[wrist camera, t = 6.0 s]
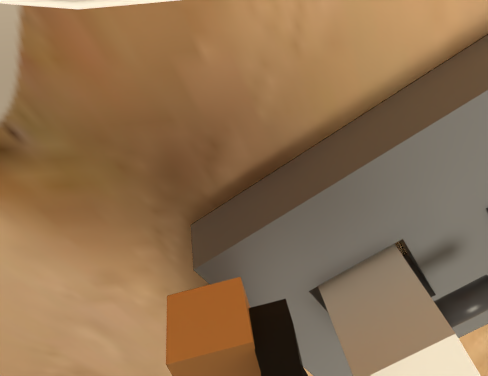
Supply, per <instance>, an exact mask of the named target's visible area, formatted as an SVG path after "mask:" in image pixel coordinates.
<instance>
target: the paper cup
mask: <svg viewBox="0 0 488 376" xmlns="http://www.w3.org/2000/svg"><path fill="white" fill-rule="evenodd" d="M167 1H178V0H0V4H13V5H26V6H40V7H53V8H67V9H89V8H100V7H111V6H122V5H133V4H144V3H156V2H167Z"/></svg>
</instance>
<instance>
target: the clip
mask: <svg viewBox="0 0 488 376" xmlns="http://www.w3.org/2000/svg"><path fill="white" fill-rule="evenodd" d="M249 308H250V305H249V302H248V299H247V296H246V293H245V289H244V286H243V283H242V280H241V277H237V278H233V279H230V280H226V281H222V282H218V283H214V284H210V285H207V286H203V287H199V288H195V289H191V290H187V291H184V292H180V293H176V294H172V295H168V296H167V339H166V365H167V367H168V369H169V370H170V372H171V374H172V376H261V371H260V368H259V364H258V361H257V357H256V354H255V350H254V349H255V345H254V339H253V333H252V327H251V321H250V315H249Z"/></svg>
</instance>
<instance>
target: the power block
mask: <svg viewBox="0 0 488 376" xmlns="http://www.w3.org/2000/svg"><path fill="white" fill-rule="evenodd" d="M191 236H192V253H193V270H194V271H195V272H196V273H197V274H199V275H200V276H201V277H202V278H203V279H204V280H205V281H207V282H208V283H209V284H214V283H218V282H222V281H226V280H230V279H233V278H237V277H241V280H242V283H243V286H244V289H245V293H246V296H247V299H248V302H249V305H250V308H251V307H255V306H259V305H263V304H266V303H270V302H274V301H278V300H282V299H286V301H287V305H288V308H289V311H290V314H291V318H292V321H293V324H294V329H295V333H296V338H297V342H298V346H299V351H300V355H301V360H302V364H303V367H304V368H305V369H306V370H308V371H309V372H310V373H311V374H312V375H313V376H353V374H352V372H351V369H350V367H349V364H348V362H347V359H346V357H345V354H344V351H343V349H342V346H341V344H340V341H339V339H338V336H337V334H336V331H335V329H334V326H333V323H332V321H331V318H330V316H329V313H328V311H327V308H326V306H325V303H324V301H323V298H322V295H321V293H320V290H319V288H318V286H319V285H321V284H323V283H324V282H326V281H328V280H330V279H332V278H333V277H335V276H337V275H339V274H341V273H342V272H344V271H346V270H348V269H350V268H351V267H353V266H355V265H357V264H359V263H360V262H362V261H364V260H366V259H368V258H369V257H371V256H373V255H375V254H377V253H378V252H380V251H382V250H384V249H386V248H387V247H389V246H391V245H393V244H394V243H396V242H398V241H400V243H401V244H402V246H403V248H404V249H405V251H406V253H407V254H406V255H404V256H403V257H404V259H405V260H406V261H407V263H408V264H409V266H410V267H411V269H412V270H413V272H414V273H415V275H416V276H417V278H418V279H419V281H420V282H421V284H422V285H423V286H424V288H425V289H426V291H427V292H428V294H429V295H430V297H431V298H432V300H433V301H435V300H437V299H439V298H441V297H443V296H445V295H447V294H449V293H451V292H453V291H455V290H457V289H459V288H461V287H463V286H465V285H467V284H469V283H471V282H473V281H474V280H476V279H478V278H480V277H482V276H484V275H488V35H486V36H485V37H483V38H482V39H480V40H479V41H477V42H476V43H474V44H472V45H471V46H469V47H468V48H466V49H465V50H463V51H462V52H460V53H458V54H457V55H455V56H454V57H452V58H451V59H449V60H447V61H446V62H444V63H443V64H441V65H440V66H438V67H437V68H435V69H433V70H432V71H430V72H429V73H427V74H426V75H424V76H423V77H421V78H419V79H418V80H416V81H415V82H413V83H412V84H410V85H409V86H407V87H405V88H404V89H402V90H401V91H399V92H398V93H396V94H394V95H393V96H391V97H390V98H388V99H387V100H385V101H384V102H382V103H380V104H379V105H377V106H376V107H374V108H373V109H371V110H370V111H368V112H366V113H365V114H363V115H362V116H360V117H359V118H357V119H355V120H354V121H352V122H351V123H349V124H348V125H346V126H345V127H343V128H341V129H340V130H338V131H337V132H335V133H334V134H332V135H331V136H329V137H327V138H326V139H324V140H323V141H321V142H320V143H318V144H317V145H315V146H313V147H312V148H310V149H309V150H307V151H306V152H304V153H302V154H301V155H299V156H298V157H296V158H295V159H293V160H292V161H290V162H288V163H287V164H285V165H284V166H282V167H281V168H279V169H278V170H276V171H274V172H273V173H271V174H270V175H268V176H267V177H265V178H264V179H262V180H260V181H259V182H257V183H256V184H254V185H253V186H251V187H249V188H248V189H246V190H245V191H243V192H242V193H240V194H239V195H237V196H235V197H234V198H232V199H231V200H229V201H228V202H226V203H225V204H223V205H221V206H220V207H218V208H217V209H215V210H214V211H212V212H210V213H209V214H207V215H206V216H204V217H203V218H201V219H200V220H198V221H196V222H195V223H193V224H192V225H191ZM486 324H488V311H486V312H484V313H481V314H479V315H477V316H475V317H473V318H471V319H469V320H467V321H465V322H463V323H461V324H459V325H457V326H455V327H453V328H452V329H453V331H454V332H455V334H456V335H457V337H458V338H460V337H462V336H464V335H466V334H468V333H470V332H472V331H474V330H476V329H478V328H480V327H482V326H484V325H486Z"/></svg>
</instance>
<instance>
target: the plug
mask: <svg viewBox="0 0 488 376" xmlns="http://www.w3.org/2000/svg"><path fill="white" fill-rule="evenodd" d="M318 288H319V290H320V293H321V295H322V298H323V301H324V303H325V306H326V308H327V311H328V313H329V316H330V318H331V321H332V323H333V326H334V329H335V331H336V334H337V336H338V339H339V341H340V344H341V346H342V349H343V351H344V354H345V357H346V359H347V362H348V364H349V367H350V369H351V372H352V374H353V376H481V375H480V374H479V372H478V370H477V369H476V367H475V365H474V364H473V362H472V360H471V359H470V357H469V355H468V354H467V352H466V350H465V349H464V347H463V345H462V344H461V342H460V340H459V339H458V337H457V335H456V334H455V332H454V331H453V329H452V328H453V327H455V326H457V325H459V324H461V323H463V322H465V321H467V320H469V319H471V318H473V317H475V316H477V315H479V314H481V313H484V312H486V311H488V275H484V276H482V277H480V278H478V279H476V280H474V281H473V282H471V283H469V284H467V285H465V286H463V287H461V288H459V289H457V290H455V291H453V292H451V293H449V294H447V295H445V296H443V297H441V298H439V299H437V300H435V301H433V300H432V298H431V297H430V295H429V294H428V292H427V291H426V289H425V288H424V286H423V285H422V284H421V282H420V281H419V279H418V278H417V276H416V275H415V273H414V272H413V270H412V269H411V267H410V266H409V264H408V263H407V261H406V260H405V259H404V257H403V256H402V254H401V253H400V251H399V250H398V248H397V247H396V245H395V244H393V245H391V246H389V247H387V248H386V249H384V250H382V251H380V252H378V253H377V254H375V255H373V256H371V257H369V258H368V259H366V260H364V261H362V262H360V263H359V264H357V265H355V266H353V267H351V268H350V269H348V270H346V271H344V272H342V273H341V274H339V275H337V276H335V277H333V278H332V279H330V280H328V281H326V282H324V283H323V284H321V285H319V286H318Z"/></svg>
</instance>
